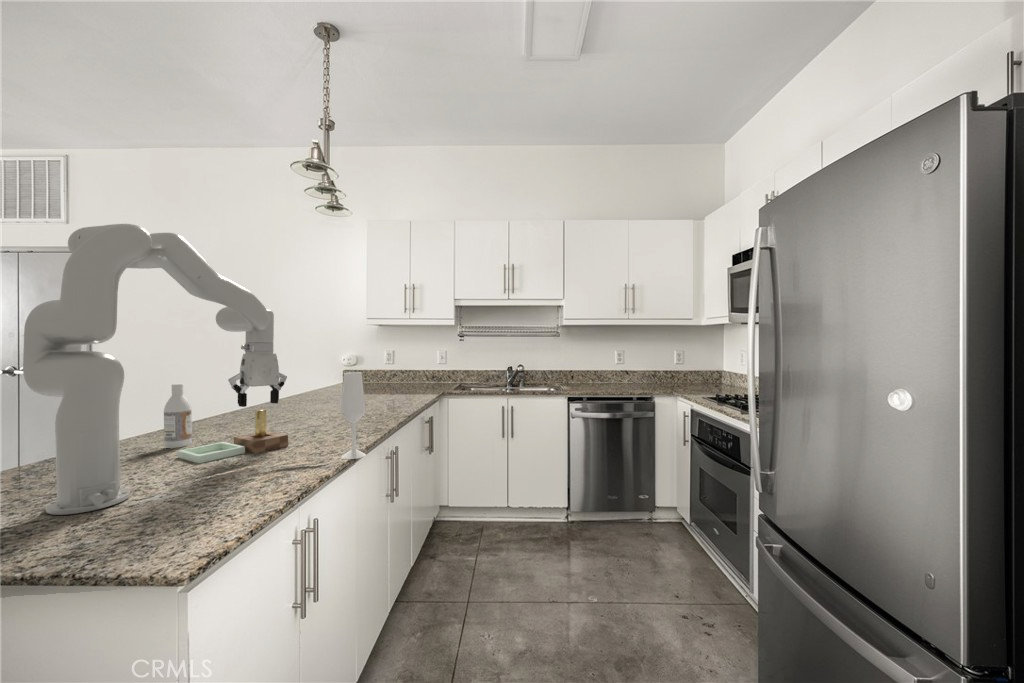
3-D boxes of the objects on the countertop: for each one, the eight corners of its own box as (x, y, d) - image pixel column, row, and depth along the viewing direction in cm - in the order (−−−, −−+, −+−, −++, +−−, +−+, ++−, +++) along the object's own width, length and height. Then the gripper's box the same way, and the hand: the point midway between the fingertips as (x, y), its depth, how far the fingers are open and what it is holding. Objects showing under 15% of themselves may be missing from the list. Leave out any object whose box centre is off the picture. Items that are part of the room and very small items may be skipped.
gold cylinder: (268, 448, 136) (268, 409, 136) (259, 450, 134) (258, 411, 134) (263, 447, 138) (262, 409, 138) (253, 449, 135) (253, 410, 135)
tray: (244, 455, 129) (244, 446, 129) (198, 465, 118) (198, 456, 118) (223, 450, 135) (223, 441, 135) (177, 459, 124) (177, 450, 124)
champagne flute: (347, 452, 130) (346, 371, 130) (369, 452, 130) (368, 371, 130) (337, 458, 124) (335, 373, 123) (360, 459, 123) (359, 373, 123)
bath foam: (185, 449, 136) (184, 384, 136) (159, 450, 135) (158, 385, 135) (196, 443, 143) (195, 382, 143) (171, 445, 142) (170, 383, 142)
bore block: (288, 447, 137) (288, 434, 137) (255, 455, 128) (255, 441, 128) (266, 443, 143) (266, 430, 143) (233, 450, 135) (233, 437, 134)
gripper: (236, 348, 126) (235, 408, 126) (293, 349, 141) (292, 402, 140) (222, 349, 130) (222, 407, 129) (279, 349, 145) (278, 401, 144)
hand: (258, 404), depth 135 cm, fingers open, 9 cm apart
